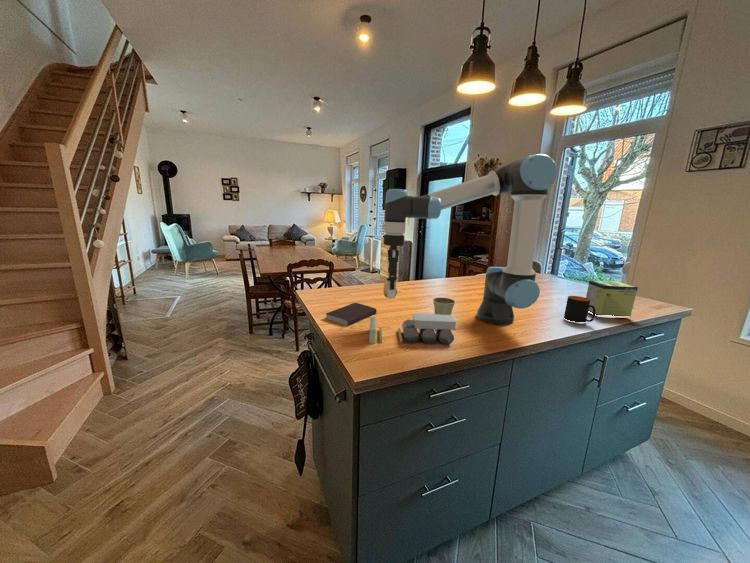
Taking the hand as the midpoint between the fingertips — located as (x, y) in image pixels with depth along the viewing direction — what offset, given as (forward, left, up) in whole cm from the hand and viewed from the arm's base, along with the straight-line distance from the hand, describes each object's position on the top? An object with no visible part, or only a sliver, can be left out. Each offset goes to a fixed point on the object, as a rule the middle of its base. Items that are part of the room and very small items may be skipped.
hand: (390, 293), depth 113 cm
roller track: (-9, +8, -14) cm, 18 cm away
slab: (-15, +8, -9) cm, 19 cm away
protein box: (-105, -28, -14) cm, 110 cm away
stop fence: (+6, +8, -14) cm, 17 cm away
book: (+15, -12, -15) cm, 24 cm away
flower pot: (-23, -12, -14) cm, 30 cm away
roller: (0, 0, 0) cm, 0 cm away
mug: (-84, -16, -14) cm, 87 cm away
